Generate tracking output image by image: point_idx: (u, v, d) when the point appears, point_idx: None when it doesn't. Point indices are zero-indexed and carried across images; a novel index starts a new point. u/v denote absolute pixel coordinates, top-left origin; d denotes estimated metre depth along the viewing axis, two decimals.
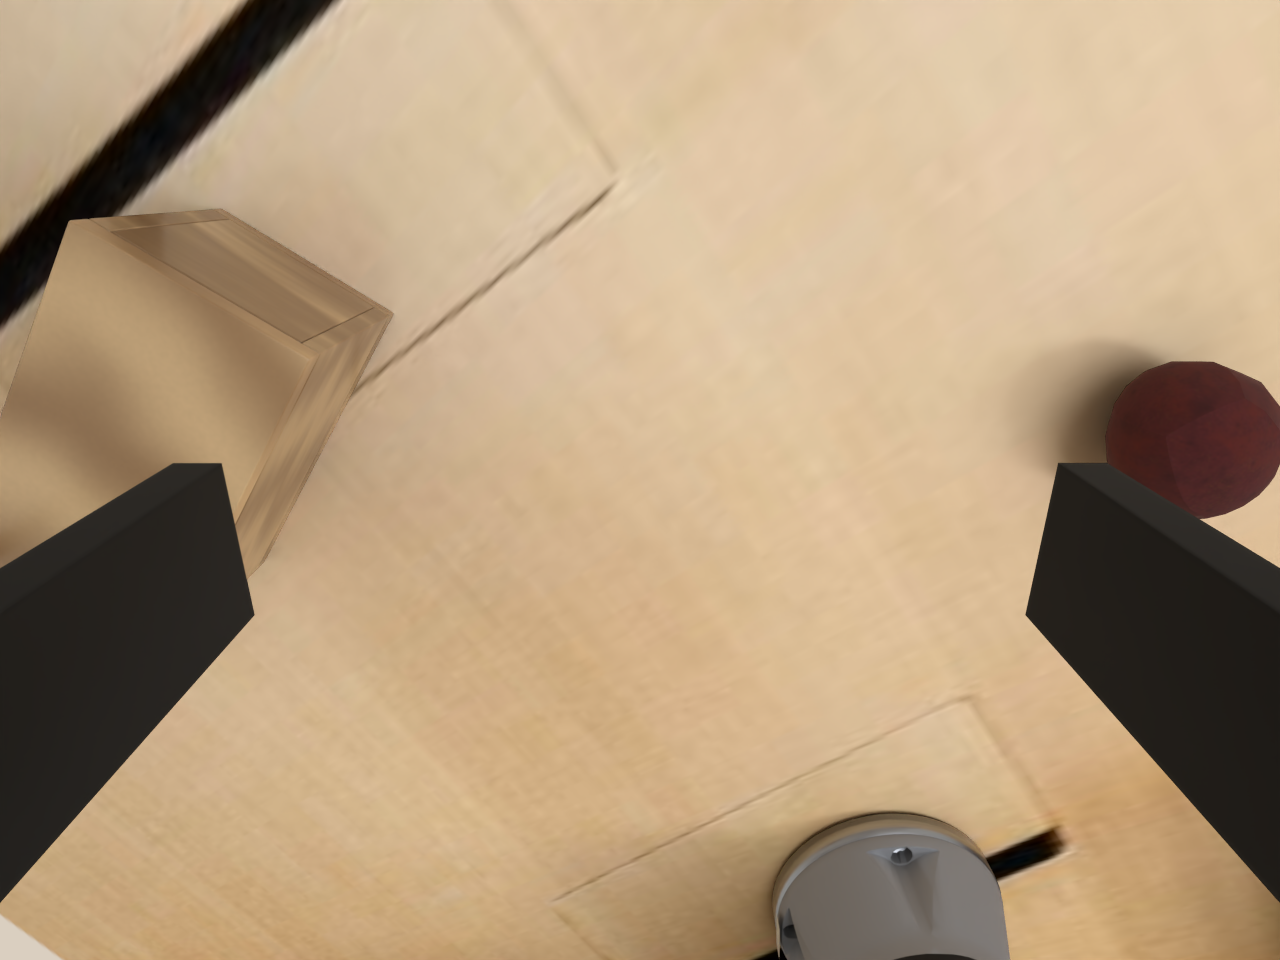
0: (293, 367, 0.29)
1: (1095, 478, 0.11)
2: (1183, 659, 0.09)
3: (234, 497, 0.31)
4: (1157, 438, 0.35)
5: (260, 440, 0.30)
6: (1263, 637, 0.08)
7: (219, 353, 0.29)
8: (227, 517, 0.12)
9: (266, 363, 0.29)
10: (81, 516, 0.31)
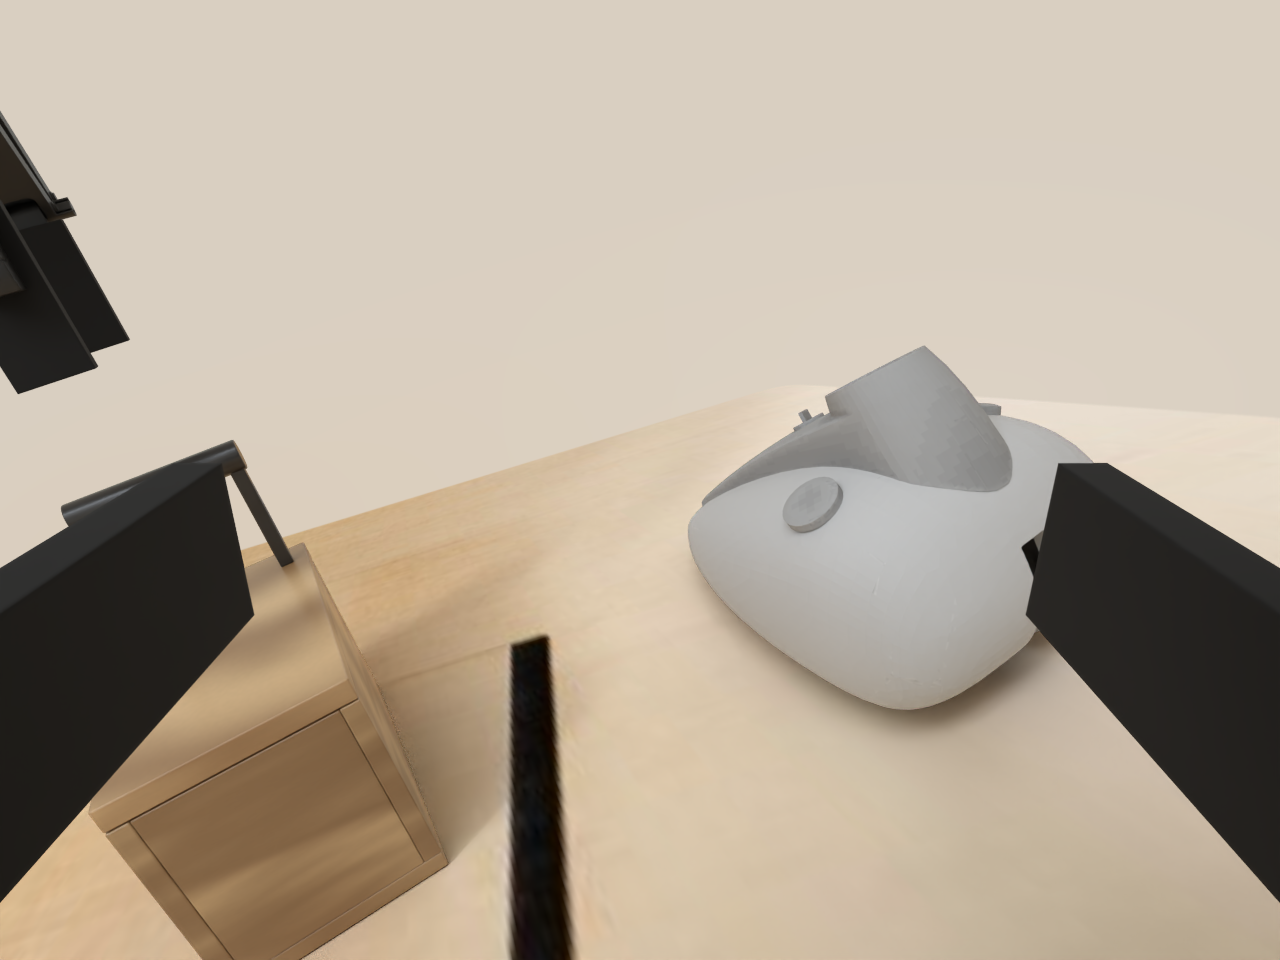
0: (101, 796, 0.27)
1: (1095, 478, 0.11)
2: (1183, 659, 0.09)
3: None
4: None
5: None
6: (1263, 637, 0.08)
7: (178, 742, 0.29)
8: (227, 517, 0.12)
9: (130, 775, 0.27)
10: None
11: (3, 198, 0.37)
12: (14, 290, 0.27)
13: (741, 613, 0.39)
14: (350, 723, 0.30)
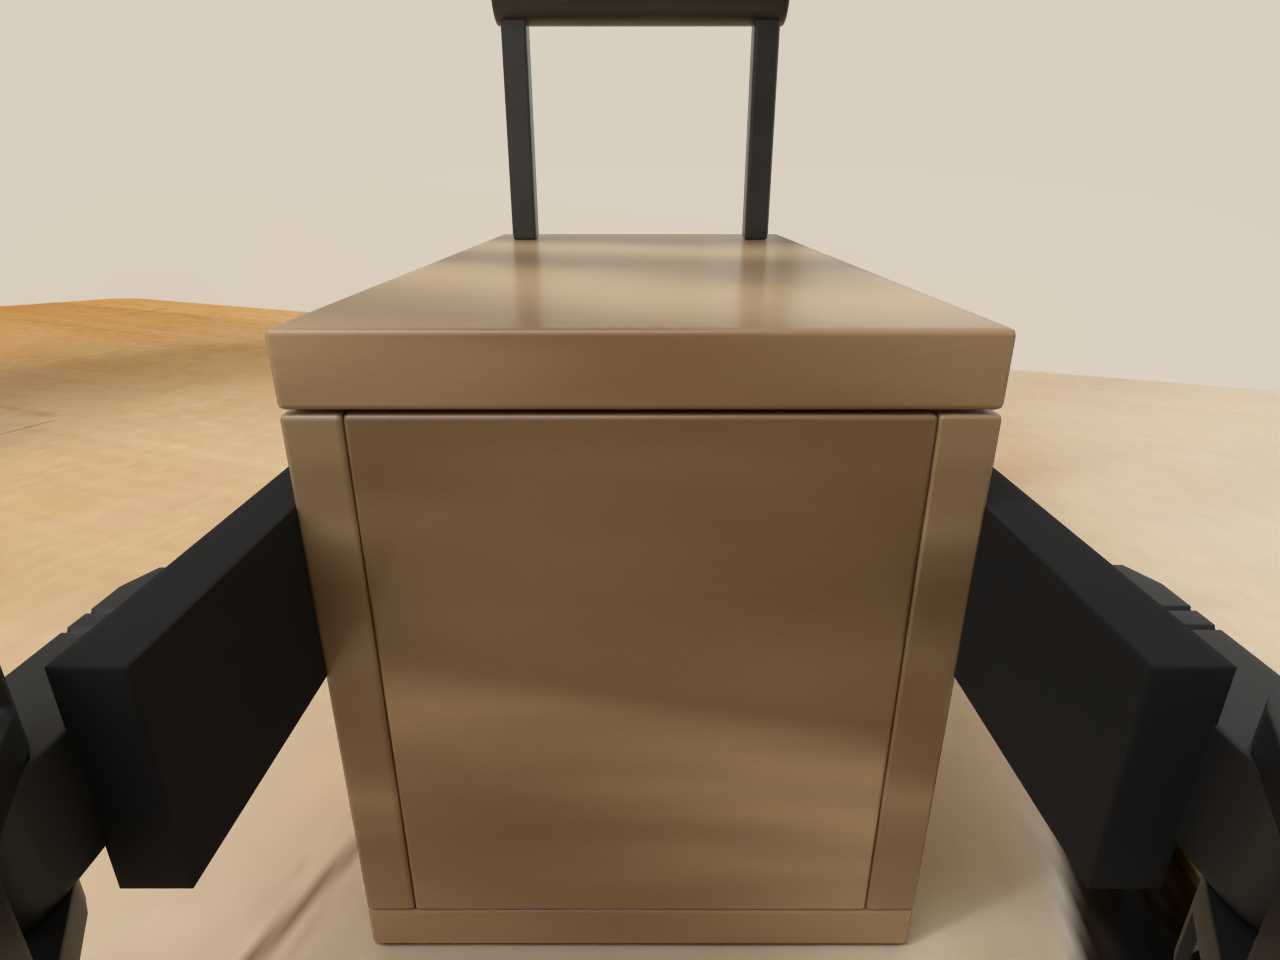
0: (313, 320, 0.10)
1: None
2: (984, 604, 0.10)
3: (428, 268, 0.16)
4: None
5: (389, 286, 0.13)
6: (1027, 578, 0.09)
7: (522, 307, 0.11)
8: None
9: (394, 314, 0.10)
10: (662, 249, 0.20)
11: None
12: None
13: None
14: (940, 471, 0.10)
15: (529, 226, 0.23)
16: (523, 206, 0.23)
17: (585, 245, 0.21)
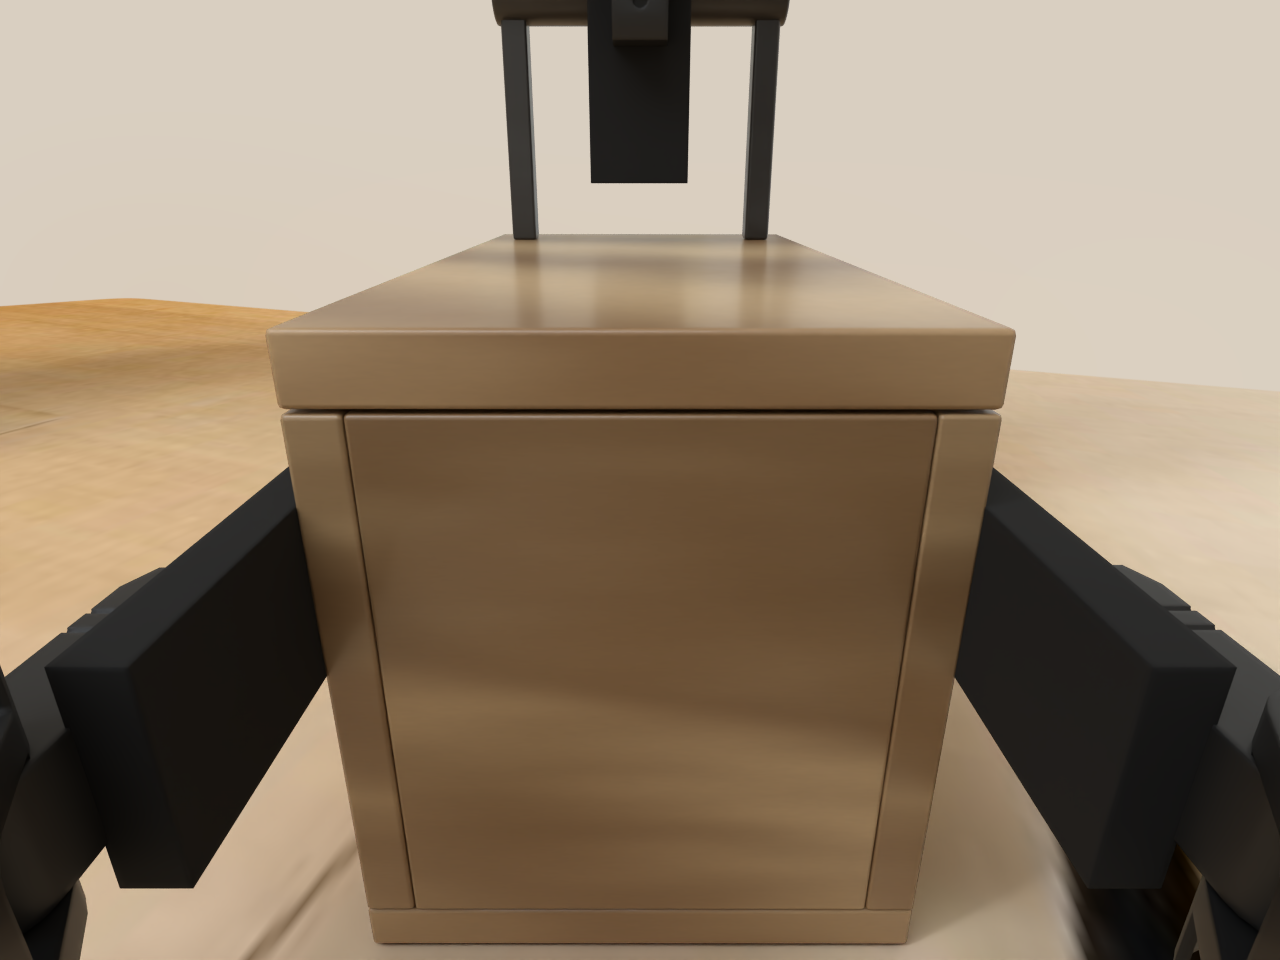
0: (314, 320, 0.10)
1: None
2: (984, 604, 0.10)
3: (429, 268, 0.16)
4: None
5: (389, 286, 0.13)
6: (1027, 578, 0.09)
7: (522, 307, 0.11)
8: None
9: (394, 314, 0.10)
10: (662, 249, 0.20)
11: None
12: (660, 37, 0.19)
13: None
14: (940, 471, 0.10)
15: (529, 226, 0.23)
16: (523, 206, 0.23)
17: (585, 245, 0.21)
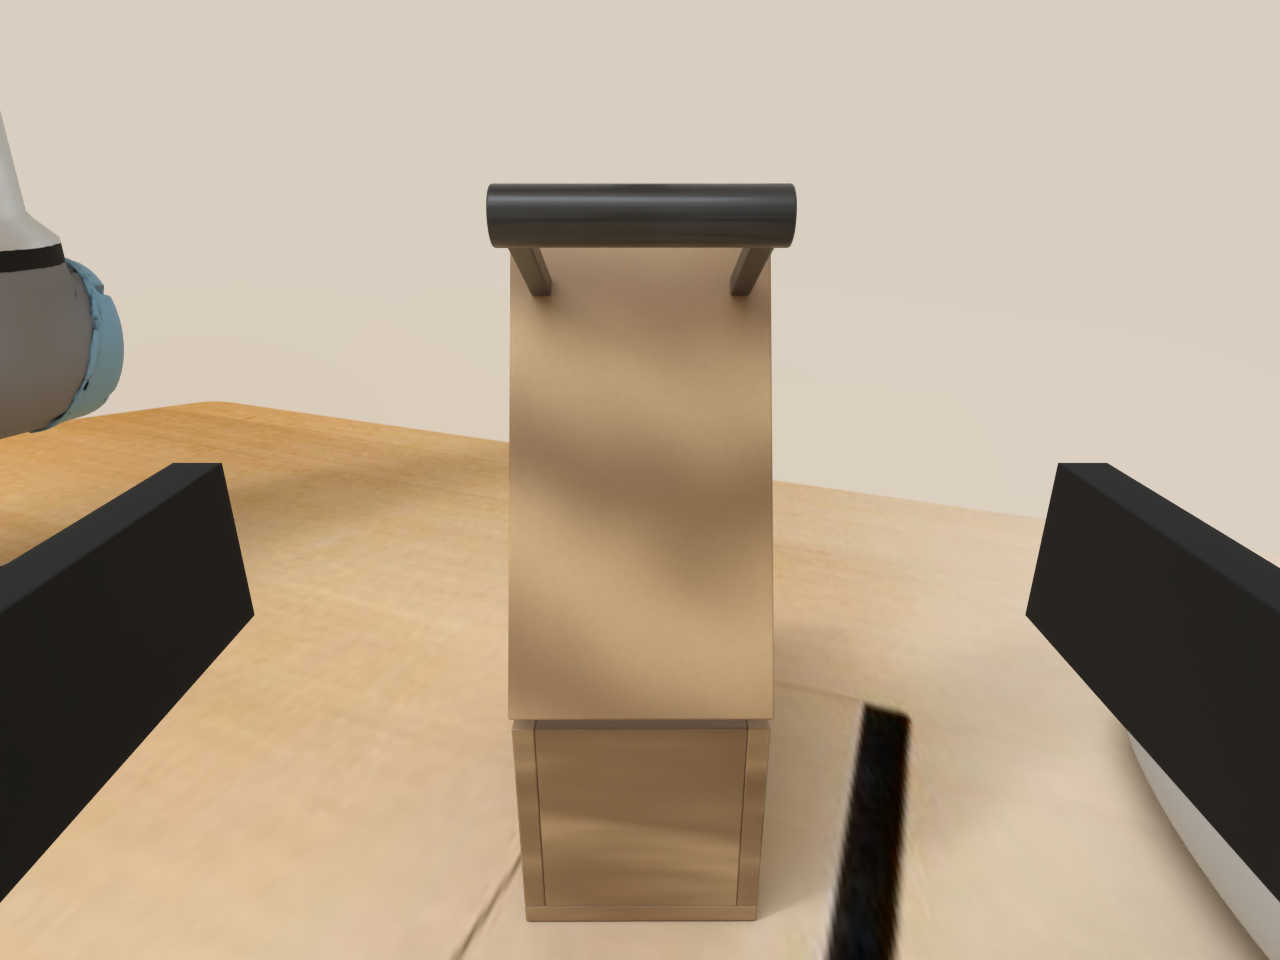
0: (519, 702, 0.26)
1: (1095, 478, 0.11)
2: (1183, 659, 0.09)
3: (516, 520, 0.27)
4: None
5: (517, 602, 0.26)
6: (1263, 637, 0.08)
7: (593, 672, 0.26)
8: (227, 517, 0.12)
9: (545, 690, 0.26)
10: (656, 401, 0.27)
11: None
12: None
13: (1205, 853, 0.30)
14: (750, 746, 0.27)
15: (544, 293, 0.26)
16: (538, 288, 0.26)
17: (597, 354, 0.27)
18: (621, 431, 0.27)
